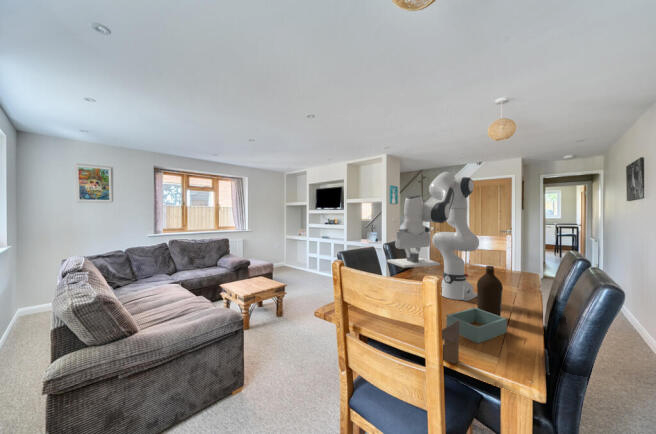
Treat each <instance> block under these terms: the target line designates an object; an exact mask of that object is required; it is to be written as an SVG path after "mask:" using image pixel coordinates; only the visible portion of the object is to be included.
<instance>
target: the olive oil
mask: <svg viewBox="0 0 656 434" xmlns="http://www.w3.org/2000/svg"><path fill="white" fill-rule="evenodd" d="M494 268H495V266H494V265H486V268H485V274H483V275H482V276H481V277H479V279H478V280H477V283H476V291H477V292H476V294H477V297H476V298H477V308H478V309H480V310H483V311H486V312H489V313H492V314H495V315H498V316H501V313H502V303H503V301H502V300H503V289H504V287H503V284H502V281H501V280H500V279H499V278H498V276H496V275H495V269H494ZM501 317H502V316H501Z"/></svg>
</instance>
